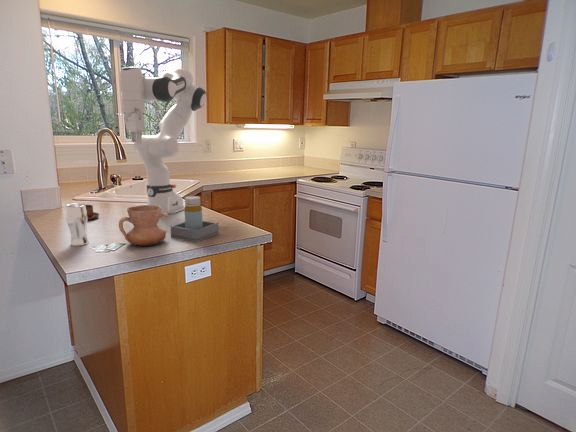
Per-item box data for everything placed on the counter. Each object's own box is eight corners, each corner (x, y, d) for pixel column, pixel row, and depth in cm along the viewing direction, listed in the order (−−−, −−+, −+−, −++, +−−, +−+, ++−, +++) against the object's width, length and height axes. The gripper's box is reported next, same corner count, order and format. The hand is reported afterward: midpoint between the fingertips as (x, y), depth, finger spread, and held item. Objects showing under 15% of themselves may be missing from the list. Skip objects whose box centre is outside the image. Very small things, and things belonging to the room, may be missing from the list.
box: (193, 229, 170) (193, 219, 169) (218, 233, 164) (217, 223, 163) (171, 236, 158) (170, 226, 157) (196, 241, 152) (196, 230, 151)
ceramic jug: (164, 235, 160) (162, 202, 156) (173, 245, 148) (171, 209, 144) (118, 241, 151) (114, 206, 148) (123, 252, 139) (119, 214, 135)
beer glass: (66, 244, 147) (61, 205, 143) (83, 239, 152) (79, 202, 149) (75, 247, 143) (71, 208, 139) (93, 242, 148) (89, 204, 145)
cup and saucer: (68, 218, 185) (67, 205, 184) (95, 214, 192) (94, 202, 191) (74, 223, 176) (72, 210, 175) (102, 219, 183) (101, 207, 182)
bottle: (195, 229, 165) (194, 195, 162) (206, 232, 161) (204, 197, 157) (182, 232, 160) (180, 197, 157) (192, 236, 156) (190, 199, 152)
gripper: (147, 108, 150) (150, 144, 153) (136, 109, 167) (139, 141, 170) (130, 107, 147) (133, 144, 150) (121, 108, 163) (123, 141, 167)
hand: (136, 142), depth 160 cm, fingers open, 8 cm apart
